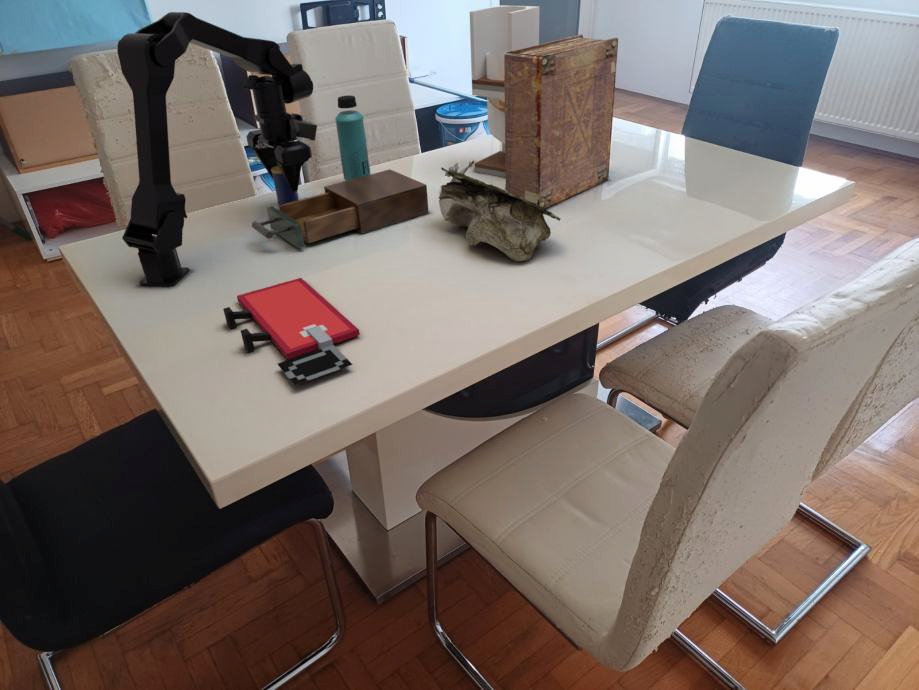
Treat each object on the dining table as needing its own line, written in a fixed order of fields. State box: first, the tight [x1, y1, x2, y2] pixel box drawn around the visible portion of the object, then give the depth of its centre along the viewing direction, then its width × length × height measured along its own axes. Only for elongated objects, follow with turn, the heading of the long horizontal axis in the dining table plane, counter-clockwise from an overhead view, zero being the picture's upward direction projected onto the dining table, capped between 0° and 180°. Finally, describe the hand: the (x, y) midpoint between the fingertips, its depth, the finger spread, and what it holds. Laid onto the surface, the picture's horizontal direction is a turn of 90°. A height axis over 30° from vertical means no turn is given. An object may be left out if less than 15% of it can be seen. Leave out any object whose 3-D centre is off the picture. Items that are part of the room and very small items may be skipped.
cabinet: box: [323, 169, 430, 235], centre depth 141 cm, size 16×14×6 cm
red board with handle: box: [222, 277, 361, 386], centre depth 102 cm, size 30×3×15 cm
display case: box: [469, 4, 541, 178], centre depth 155 cm, size 11×11×35 cm
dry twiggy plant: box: [444, 160, 476, 182], centre depth 150 cm, size 10×6×9 cm
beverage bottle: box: [334, 94, 372, 181], centre depth 154 cm, size 6×7×20 cm
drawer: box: [251, 192, 360, 249], centre depth 133 cm, size 20×13×5 cm, turn 127°
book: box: [504, 34, 619, 210], centre depth 141 cm, size 25×9×30 cm, turn 136°
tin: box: [271, 166, 300, 206], centre depth 142 cm, size 5×5×10 cm
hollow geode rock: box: [438, 166, 562, 262], centre depth 125 cm, size 28×13×15 cm
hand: (285, 185), depth 142 cm, fingers open, 9 cm apart
